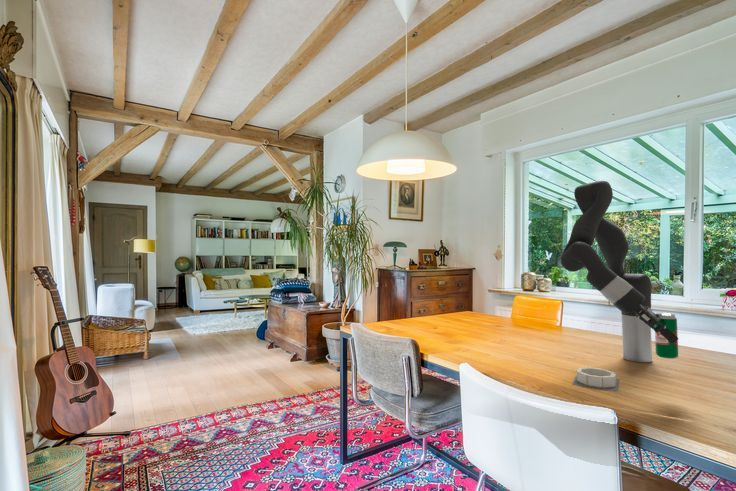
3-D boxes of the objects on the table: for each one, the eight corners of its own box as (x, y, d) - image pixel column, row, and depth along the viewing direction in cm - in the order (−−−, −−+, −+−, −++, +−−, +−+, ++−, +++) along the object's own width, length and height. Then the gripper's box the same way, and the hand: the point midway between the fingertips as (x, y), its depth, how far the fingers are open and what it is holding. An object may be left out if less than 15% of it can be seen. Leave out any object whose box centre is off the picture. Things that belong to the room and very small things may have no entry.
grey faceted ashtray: (579, 374, 127) (579, 365, 128) (616, 380, 121) (615, 370, 122) (575, 383, 119) (575, 373, 119) (615, 389, 113) (614, 379, 113)
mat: (577, 374, 129) (577, 373, 129) (619, 380, 122) (619, 379, 122) (572, 385, 118) (572, 384, 118) (618, 393, 111) (618, 391, 111)
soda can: (651, 354, 110) (649, 313, 110) (667, 353, 110) (665, 312, 110) (666, 359, 104) (664, 315, 105) (683, 358, 105) (681, 315, 105)
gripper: (632, 288, 106) (689, 335, 99) (632, 284, 118) (683, 326, 111) (610, 305, 109) (665, 353, 102) (612, 300, 121) (661, 342, 114)
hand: (674, 338), depth 106 cm, fingers closed on soda can, 5 cm apart
